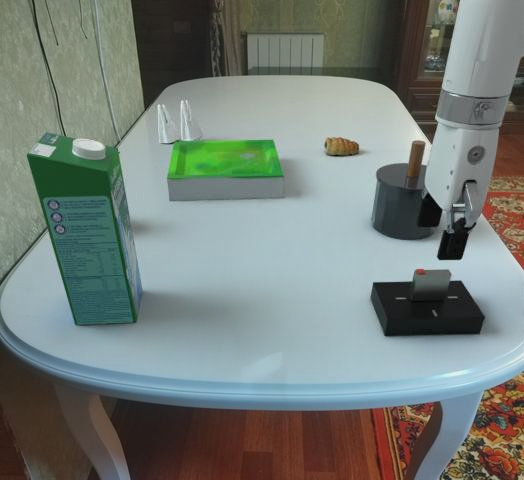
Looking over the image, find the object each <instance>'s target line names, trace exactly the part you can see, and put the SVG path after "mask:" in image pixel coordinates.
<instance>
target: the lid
mask: <svg viewBox="0 0 524 480" xmlns="http://www.w3.org/2000/svg"><path fill="white" fill-rule="evenodd" d="M426 145H427V143H426V141H424V140H419V139H418V140H413V141H411V146H410V151H409V158H408V162H397V163H391V164H386V165H383V166H381V167H379V168H378V169H376V171H375V179H376V181H377V180H378V181H379V182H380V183H381V184H383V185H385V186H387V187H390V188H393V189H397V190H401V191H407V192H423V190H424V188H425V181H424V179H425V175H426V169H427V164H423V159H424V154H425V149H426Z"/></svg>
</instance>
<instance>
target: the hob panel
mask: <svg viewBox="0 0 524 480" xmlns="http://www.w3.org/2000/svg"><path fill="white" fill-rule="evenodd" d="M411 284H412V280H411V281H373V282H372V287H371V292H370V301H371V303H372V307H373V309H374V312H375V315H376V317H377V320H378V322H379V325H380V327H381V330H382V333H383V336H384V337H394V336H395V337H396V336H397V337H401V336H438V335H439V336H440V335H443V336H444V335H480V334H481V332H482V328H483V326H484V322H485V320H486V316H485V314H484V312H483V311H482V310H481V308H480V306H479V305H478V304H477V302H476V300H475V299H474V297H473V296H472V294H471V293H470V291H469V290H468V288H467V287H466V285H465V284H464V282H463V281H462V280H461V279H460V280H459V279H458V280H450V283H449V286H448V290H447V294H446V297H445V300H444V301H411V299H410V297H409V294H410V289H411Z"/></svg>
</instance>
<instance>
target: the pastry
mask: <svg viewBox="0 0 524 480" xmlns="http://www.w3.org/2000/svg"><path fill="white" fill-rule="evenodd" d="M323 148H324V149H323V151H324V153H325V154H327V155H329V156H336V155H338V156H350V155H349V154H352V155H355V154H358V153H359V152H360V144H359V143H358V142H356V141H354V140H352V141H351V140H350V139H348V138H343V137H341V136H338V137H335V136H333V137H326V138H325V140H324V144H323Z"/></svg>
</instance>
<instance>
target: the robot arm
mask: <svg viewBox="0 0 524 480" xmlns="http://www.w3.org/2000/svg"><path fill="white" fill-rule="evenodd" d="M458 3H459V4H458V9H457V13H456V18H455V22H454V27H453V32H452V37H451V41H450V47H449V51H448V55H447V59H446V65H445V69H444V70H445V71H444V75H443V79H442V84H441V88H440V93H439V98H438V102H437V107H436V113H435V116H434V120H435V121H437V125H436V130H435V133H434V137H433V140H432V143H431V144H432V145H431V148H430V152H429V155H428V159H427V162H426V163H427V164H426V165H427V169H426V175H425V179H424V181H425V188H424V190H423V192H422V198H426V199H422V200H421V204H420V209H419V214H418V218H417V223H416V224H417V226H418V227H436V228H438V227H439V226H440V224H441V219H442V217H443V216H442V215H443V211H444V212H445V213H446V229H443V231H442V234H441V238H440V243H439V246H438V250H437V253H436V258H437V260H438V261H461V260H462V259H463V257H464V254H465V251H466V247H467V243H468V240H469V237H470V235H471V234H472V233H473V229H475V227H476V226H477V224H478V223H477V221H478V220H479V219H480V217H481V215H482V213H483V208H484V206H485V203H486V199H487V196H488V192H489V187H490V183H491V179H492V176H493V171H494V166H495V161H496V156H497V150H498V144H499V135H500V129H499V128H500V127H502V125H503V120H504V117H505V115H506V114H505V113H506V111H507V108H508V107H507V106H508V104H509V100H510V97H511V94H512V91H513V87H514V82H515V79H516V77H517V76H516V75H517V73H518V69H519V66H520V62H521V59H522V58H523V57H524V0H459V2H458ZM454 205H464V206H454ZM456 215H463V217H461V216H460V217H459V218H458V219H457V220H456V217H455V216H456Z"/></svg>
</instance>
